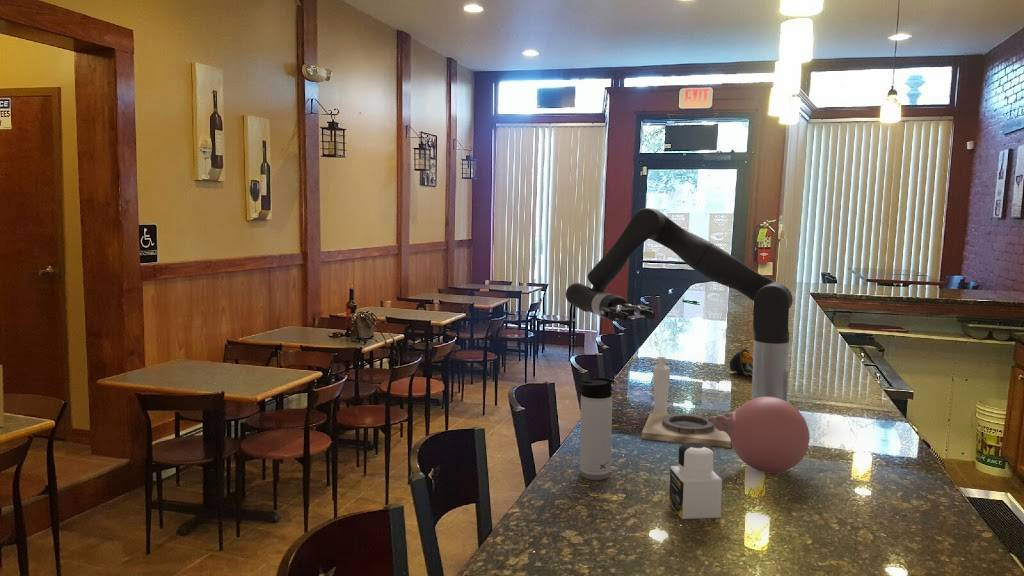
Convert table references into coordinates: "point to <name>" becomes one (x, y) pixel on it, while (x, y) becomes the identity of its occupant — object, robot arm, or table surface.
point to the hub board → (684, 429)
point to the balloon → (766, 433)
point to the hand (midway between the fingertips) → (640, 317)
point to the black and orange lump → (742, 363)
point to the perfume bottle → (661, 386)
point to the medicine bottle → (695, 483)
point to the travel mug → (596, 428)
